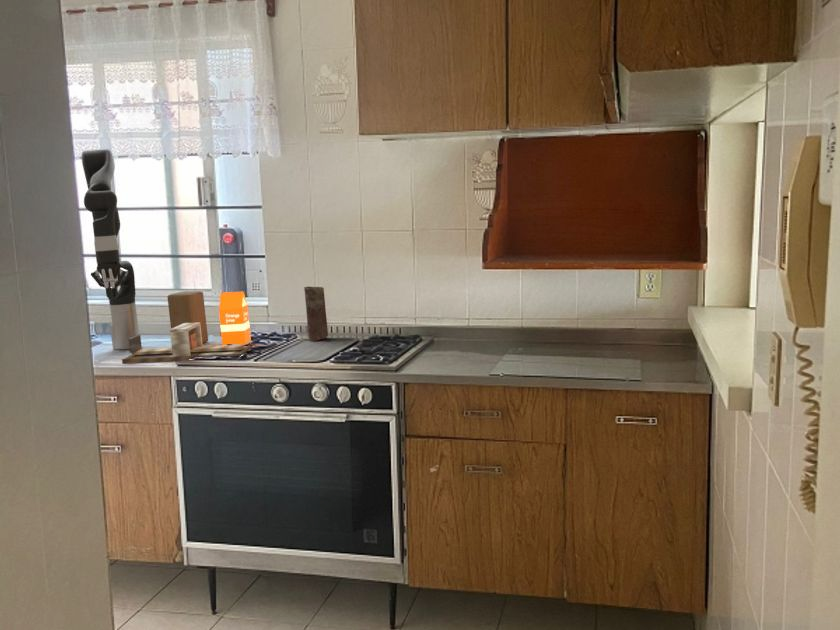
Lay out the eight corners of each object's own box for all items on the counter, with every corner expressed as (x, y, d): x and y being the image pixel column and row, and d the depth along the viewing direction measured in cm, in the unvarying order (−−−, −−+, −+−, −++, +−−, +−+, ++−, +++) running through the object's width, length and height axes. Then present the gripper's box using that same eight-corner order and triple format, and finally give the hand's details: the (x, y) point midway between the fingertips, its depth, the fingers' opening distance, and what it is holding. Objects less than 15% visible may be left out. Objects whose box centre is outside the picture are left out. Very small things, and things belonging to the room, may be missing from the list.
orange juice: (246, 346, 293) (240, 292, 290) (222, 348, 293) (216, 294, 290) (251, 342, 300) (246, 290, 297) (228, 343, 301) (223, 291, 298)
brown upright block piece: (309, 338, 302) (305, 285, 299) (329, 336, 302) (324, 284, 299) (307, 342, 294) (303, 288, 291) (327, 340, 294) (323, 286, 291)
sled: (130, 355, 279) (128, 338, 278) (138, 351, 286) (136, 335, 285) (239, 350, 275) (237, 333, 274) (245, 346, 282) (243, 329, 281)
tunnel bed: (122, 363, 276) (118, 332, 274) (139, 355, 289) (136, 325, 288) (240, 358, 272) (237, 326, 270) (252, 349, 286) (249, 319, 284)
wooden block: (172, 347, 301) (166, 295, 298) (186, 342, 311) (181, 291, 308) (195, 347, 298) (189, 294, 295) (209, 341, 308) (203, 290, 305)
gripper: (82, 251, 274) (89, 301, 276) (120, 248, 273) (126, 299, 275) (93, 249, 281) (99, 298, 284) (130, 247, 280) (136, 296, 283)
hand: (112, 298), depth 279 cm, fingers closed
